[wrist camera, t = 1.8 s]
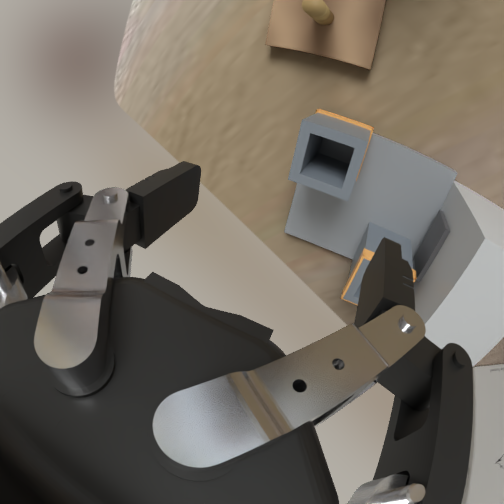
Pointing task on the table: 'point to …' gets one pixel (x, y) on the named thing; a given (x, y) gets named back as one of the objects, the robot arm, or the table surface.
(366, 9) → the pin board
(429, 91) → the table surface
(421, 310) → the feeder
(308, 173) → the sleeve
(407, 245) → the sleeve
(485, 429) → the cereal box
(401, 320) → the robot arm
